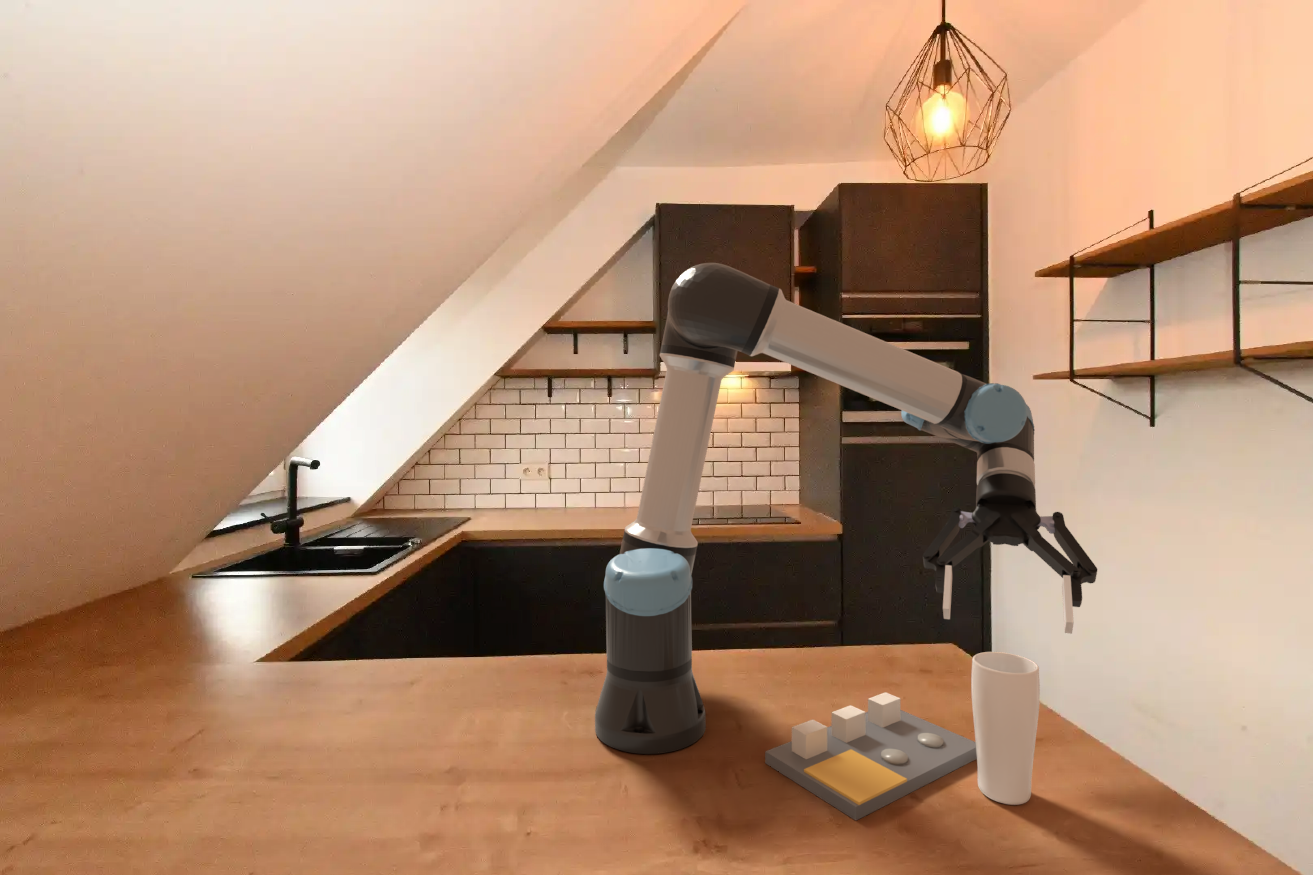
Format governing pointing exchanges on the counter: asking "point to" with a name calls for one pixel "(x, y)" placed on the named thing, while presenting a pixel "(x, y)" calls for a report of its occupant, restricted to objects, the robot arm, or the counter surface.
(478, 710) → the counter surface
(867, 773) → the game board
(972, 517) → the robot arm
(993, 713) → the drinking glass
